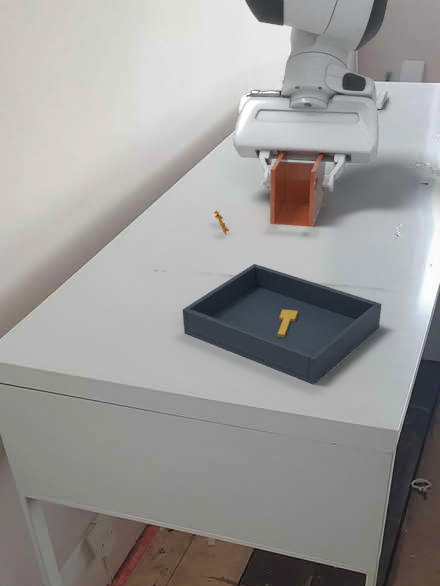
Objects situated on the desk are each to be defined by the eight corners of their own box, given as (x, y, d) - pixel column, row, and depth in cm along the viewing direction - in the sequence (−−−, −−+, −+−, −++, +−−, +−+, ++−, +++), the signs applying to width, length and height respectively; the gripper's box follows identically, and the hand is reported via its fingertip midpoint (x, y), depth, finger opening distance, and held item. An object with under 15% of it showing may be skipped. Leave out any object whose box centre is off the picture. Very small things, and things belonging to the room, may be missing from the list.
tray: (379, 327, 79) (381, 303, 77) (313, 384, 72) (314, 359, 70) (254, 286, 88) (254, 263, 86) (184, 333, 80) (182, 309, 78)
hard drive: (318, 98, 141) (382, 100, 138) (326, 87, 147) (387, 89, 143) (317, 107, 142) (381, 110, 139) (326, 96, 148) (387, 98, 144)
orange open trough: (283, 202, 107) (283, 146, 102) (323, 205, 105) (326, 148, 100) (270, 227, 100) (270, 169, 95) (312, 230, 99) (315, 171, 94)
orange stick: (213, 215, 104) (212, 209, 103) (220, 215, 104) (219, 208, 104) (222, 238, 98) (222, 231, 98) (230, 237, 98) (229, 230, 98)
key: (282, 312, 82) (282, 309, 82) (297, 313, 82) (297, 310, 81) (272, 336, 78) (272, 333, 78) (289, 338, 78) (289, 334, 77)
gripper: (236, 76, 100) (220, 173, 99) (386, 80, 95) (370, 182, 94) (245, 102, 106) (230, 193, 105) (386, 106, 101) (371, 202, 100)
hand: (297, 188), depth 100 cm, fingers open, 7 cm apart
